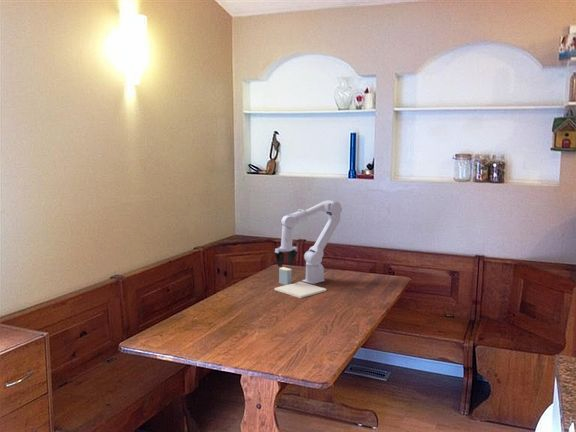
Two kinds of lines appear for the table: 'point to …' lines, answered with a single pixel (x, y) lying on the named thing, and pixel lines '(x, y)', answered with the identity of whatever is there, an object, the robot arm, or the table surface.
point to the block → (285, 275)
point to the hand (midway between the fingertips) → (284, 265)
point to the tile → (300, 289)
